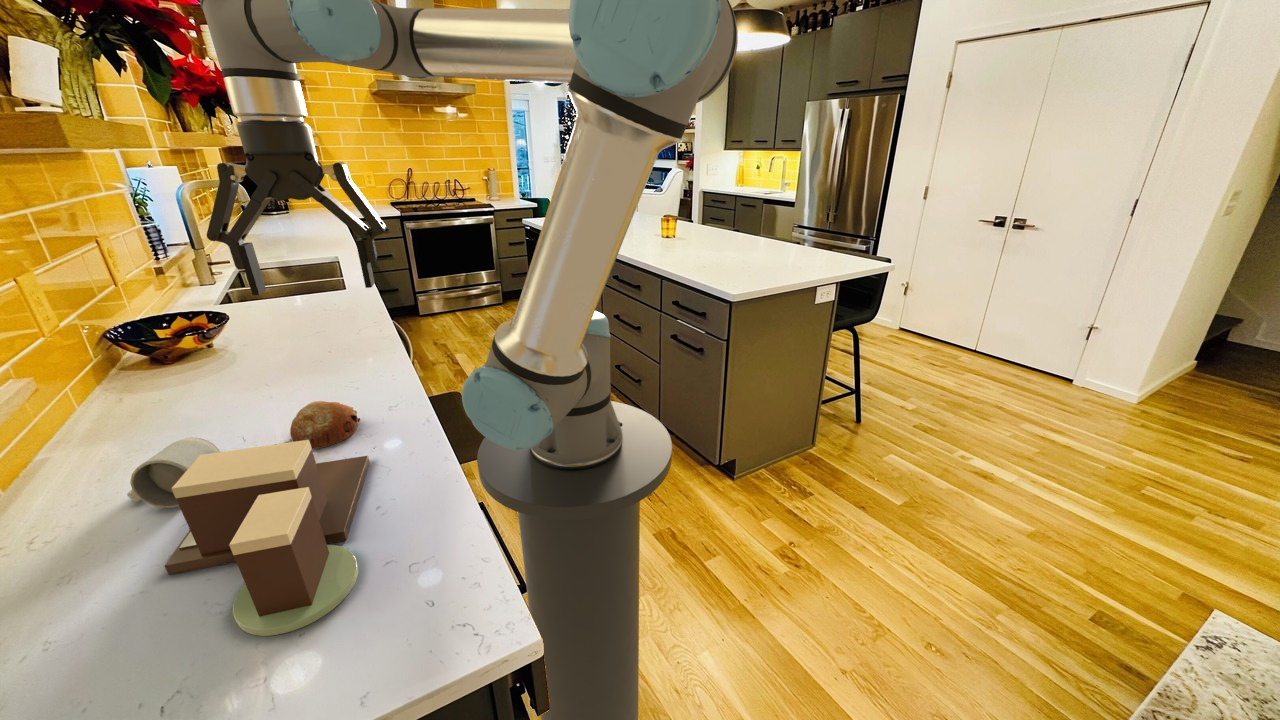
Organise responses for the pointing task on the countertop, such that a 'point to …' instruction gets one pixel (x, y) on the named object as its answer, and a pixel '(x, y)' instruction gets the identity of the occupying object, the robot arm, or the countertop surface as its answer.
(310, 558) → the cake slice
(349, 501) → the cake board
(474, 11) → the robot arm
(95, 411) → the countertop surface
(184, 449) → the ceramic mug
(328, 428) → the bread roll
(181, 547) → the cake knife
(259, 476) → the cake
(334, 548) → the plate
